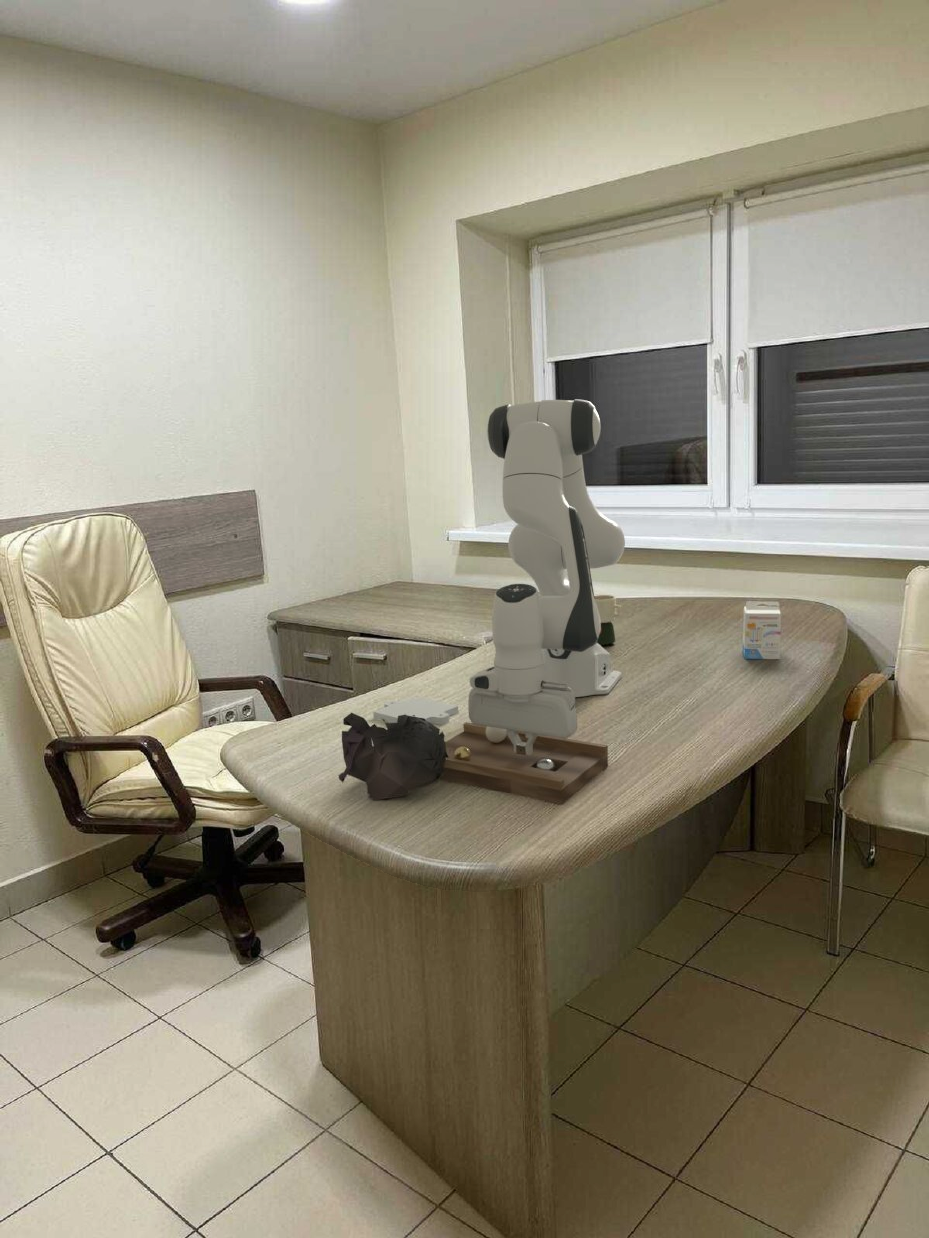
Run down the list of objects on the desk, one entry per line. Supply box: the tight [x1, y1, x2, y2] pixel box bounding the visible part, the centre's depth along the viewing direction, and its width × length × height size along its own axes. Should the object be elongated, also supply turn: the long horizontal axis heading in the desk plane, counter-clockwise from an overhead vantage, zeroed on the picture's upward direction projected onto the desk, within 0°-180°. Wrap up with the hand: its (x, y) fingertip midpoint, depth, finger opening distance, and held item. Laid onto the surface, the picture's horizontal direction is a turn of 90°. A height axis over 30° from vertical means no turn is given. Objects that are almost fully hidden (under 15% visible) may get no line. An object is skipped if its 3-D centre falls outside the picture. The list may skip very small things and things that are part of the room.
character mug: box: [594, 594, 622, 646], centre depth 245 cm, size 11×7×13 cm, turn 53°
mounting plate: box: [372, 695, 460, 726], centre depth 196 cm, size 18×13×2 cm
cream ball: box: [485, 726, 507, 743], centre depth 170 cm, size 4×4×4 cm
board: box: [439, 722, 609, 806], centre depth 163 cm, size 18×30×4 cm, turn 57°
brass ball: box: [454, 747, 471, 761], centre depth 161 cm, size 3×3×3 cm
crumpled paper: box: [337, 711, 453, 801], centre depth 155 cm, size 14×15×20 cm
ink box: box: [741, 600, 782, 660], centre depth 226 cm, size 9×8×13 cm
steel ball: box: [536, 758, 555, 772], centre depth 159 cm, size 3×3×3 cm
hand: (523, 753), depth 161 cm, fingers closed
